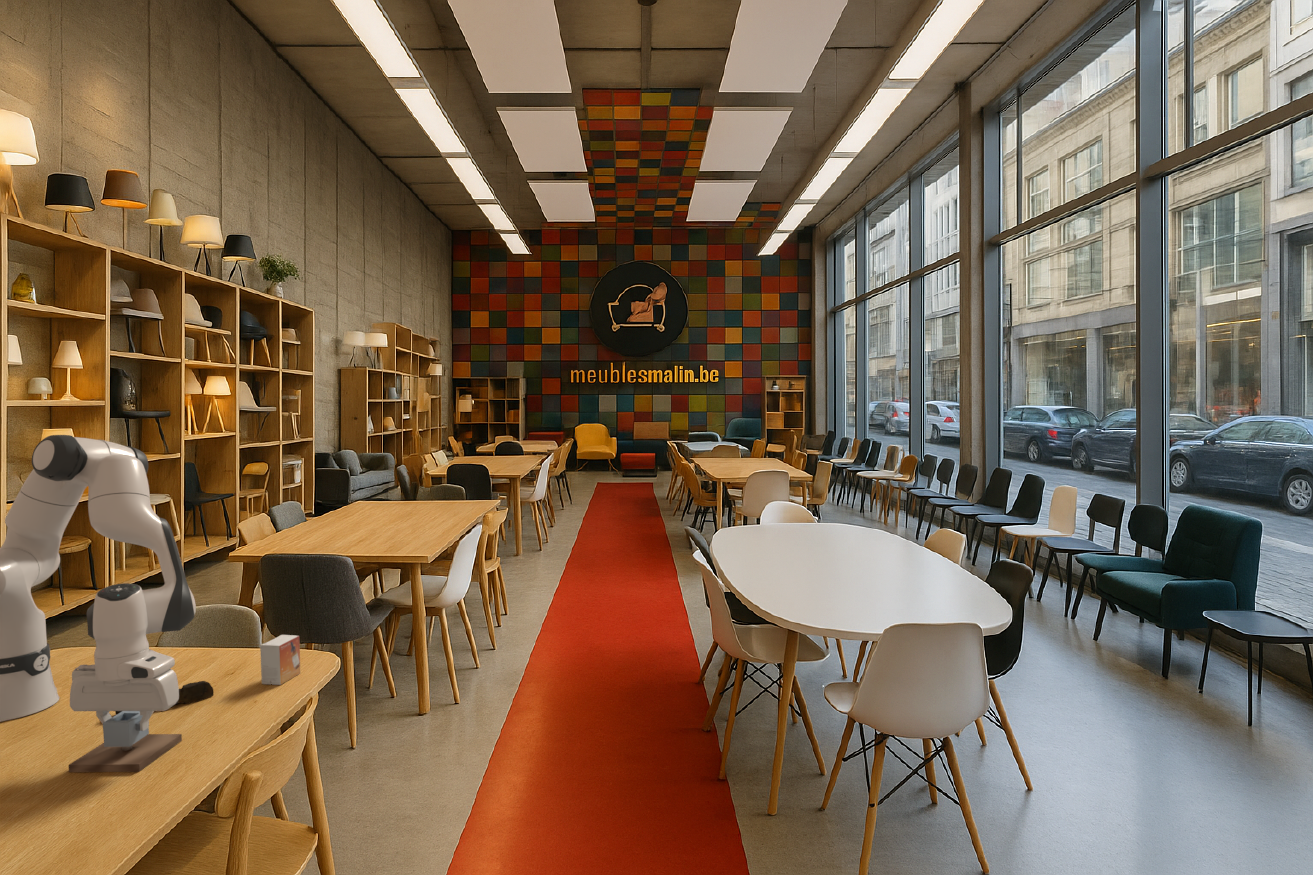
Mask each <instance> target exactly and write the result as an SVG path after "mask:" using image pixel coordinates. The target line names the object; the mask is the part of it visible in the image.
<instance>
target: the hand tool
mask: <svg viewBox="0 0 1313 875" xmlns="http://www.w3.org/2000/svg"><path fill="white" fill-rule="evenodd" d="M214 693H215V692H214V688H213V686H212V685H211V683H209V681H206V680H200V681H195V682H188V683H186V684H184V685H182V687H181V688H179V699H178V701H177V702H176V704H175V705H177V704H184V705H187V704H193V703H196V702H200V701H203V700H206V699H209V698H211V697H213V696H214ZM114 712H115V715H117V714H119V713H120V712H122V711H114Z"/></svg>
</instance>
